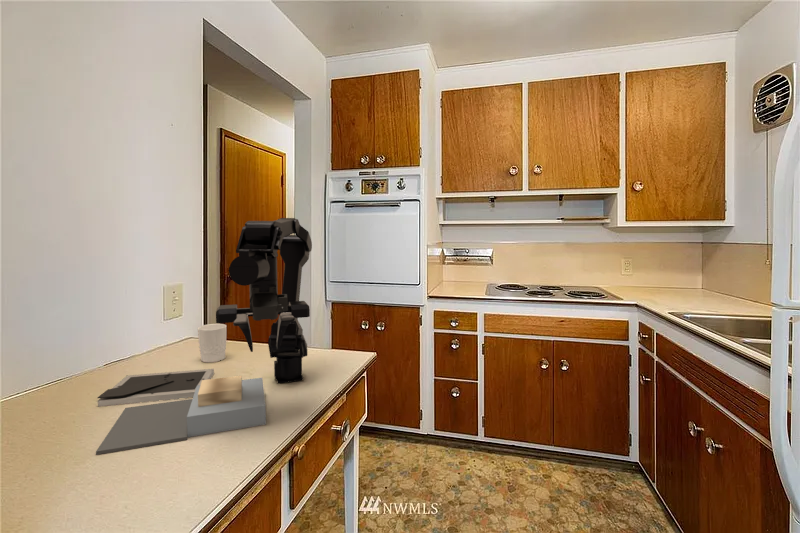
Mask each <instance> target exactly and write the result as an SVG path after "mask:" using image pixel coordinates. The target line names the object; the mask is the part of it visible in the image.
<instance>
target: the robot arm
mask: <svg viewBox="0 0 800 533" xmlns="http://www.w3.org/2000/svg"><path fill="white" fill-rule="evenodd" d="M237 242H238V243H237V246H236V250H235V253H237V254H238V256H236V257H235V258H234V259H233V260H232V261H231V262H230V265H229V267H228V274H229V277H230V278H231V280H232V281H233V282H234V283H235V284H237V285H239V286H246V287H247V286H249V307H240V308H238V304H221V305H218V307H217V308H216V311H215V324H227V323H228V324H229V323H233V325H232V326H234V327H239V329H240V330H241V331H242V334H243V335H244V338H245V340H246V343H247V346H248V348H249V350H250V352H251V353H253V351H254V347H253V345H254V344H253V339H252V338H253V337H252V331H251V327H250V325H251V324H250V320H249V317H252V320H253V321H259V322H260V321H263V320H271V321H273V320H275V322H273V323H272V324H271V327H270V335H269V336H268V340H267V346H268V352H269V356H270V359H273V358H276V360H274V361H273V363H274V364H273V370H274V371H273V374H274V380H276V383H277V384H285V383H286V384H287V383H293V382H300V381H303V380H304V377H303V358H304V357H307V356H308V343H307V341H306V338H305V336H304V332H303V331H304V329H303V328H302V326H301V323H300V322H299V319H301V318H309V317H310V315H311V312H310V305H309V304H308V302H306V301H305V300H300V293H301V285H302V284H301V282H302V272H303V271H302V270H303V267H304V266H305V265H306V263H307V262H308V260H309V258H310V253H311V252H312V249H313V244H312V243H313V242H312V238H311V235H310V232H309V231H308V230H307V229H306V228H304V227H303V226H302V225H301V224H300V221H299V219H297V218H295V217H280V218H278V219H276V220H275V219H274V220H248V221H246V222H245V223H244V226H242V229H241V231H240V235H239V238H238V241H237ZM278 250H279V251H278ZM278 252H279V254H278ZM279 255H280V257H281V259H282V261H283V263H284V270H283V279H282V289H281V290H282V291H281V294H279V292H278V288H279V286H278V256H279Z"/></svg>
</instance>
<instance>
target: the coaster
mask: <svg viewBox="0 0 800 533" xmlns="http://www.w3.org/2000/svg"><path fill="white" fill-rule="evenodd" d="M242 377H243V375H236V376H235V375H234V376H226V377H218V378H211V379H208V380H202V382H201V385H200V389H199V392H198V407H200V406H207V405H214V404H221V403H229V402H236V401H242V380H243V379H242Z"/></svg>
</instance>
